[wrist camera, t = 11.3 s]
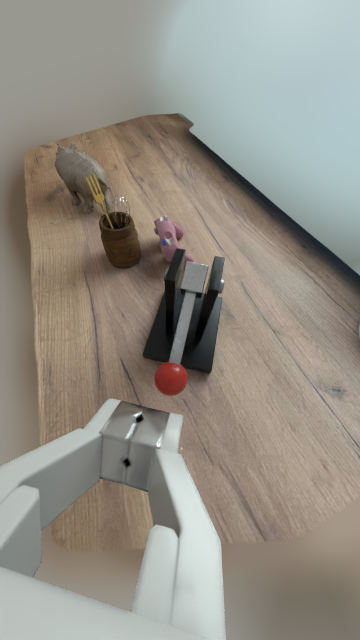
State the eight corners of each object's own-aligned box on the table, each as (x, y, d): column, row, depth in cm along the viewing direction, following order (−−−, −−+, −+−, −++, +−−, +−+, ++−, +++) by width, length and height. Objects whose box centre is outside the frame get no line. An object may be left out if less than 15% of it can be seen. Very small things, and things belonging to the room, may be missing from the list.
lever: (183, 394, 20) (182, 404, 17) (154, 386, 20) (147, 394, 17) (210, 276, 21) (214, 264, 18) (182, 270, 21) (181, 258, 18)
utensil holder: (126, 274, 33) (107, 201, 22) (99, 258, 34) (70, 183, 24) (148, 255, 35) (140, 182, 25) (122, 241, 37) (105, 167, 27)
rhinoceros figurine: (81, 220, 35) (39, 110, 29) (76, 228, 47) (46, 150, 40) (121, 213, 38) (92, 113, 32) (108, 222, 50) (84, 149, 43)
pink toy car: (164, 243, 40) (146, 215, 34) (184, 232, 38) (169, 201, 33) (174, 278, 35) (155, 252, 29) (197, 267, 34) (182, 238, 28)
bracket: (209, 373, 25) (239, 333, 15) (143, 357, 25) (127, 307, 15) (220, 301, 31) (246, 238, 21) (166, 290, 31) (166, 222, 21)
